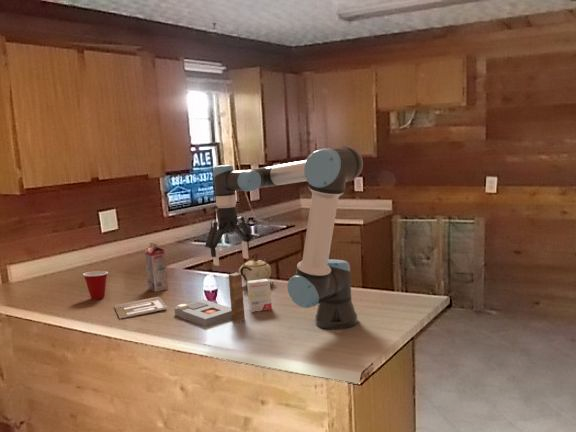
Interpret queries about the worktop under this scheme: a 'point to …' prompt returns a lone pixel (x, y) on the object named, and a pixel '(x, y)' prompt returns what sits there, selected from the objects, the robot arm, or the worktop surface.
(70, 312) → the worktop surface
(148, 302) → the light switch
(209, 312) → the orange ball button
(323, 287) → the robot arm
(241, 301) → the walnut rod
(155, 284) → the juice carton
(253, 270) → the sugar bowl
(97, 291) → the plastic cup
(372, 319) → the worktop surface
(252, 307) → the ink box
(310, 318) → the worktop surface
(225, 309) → the grey flat block
